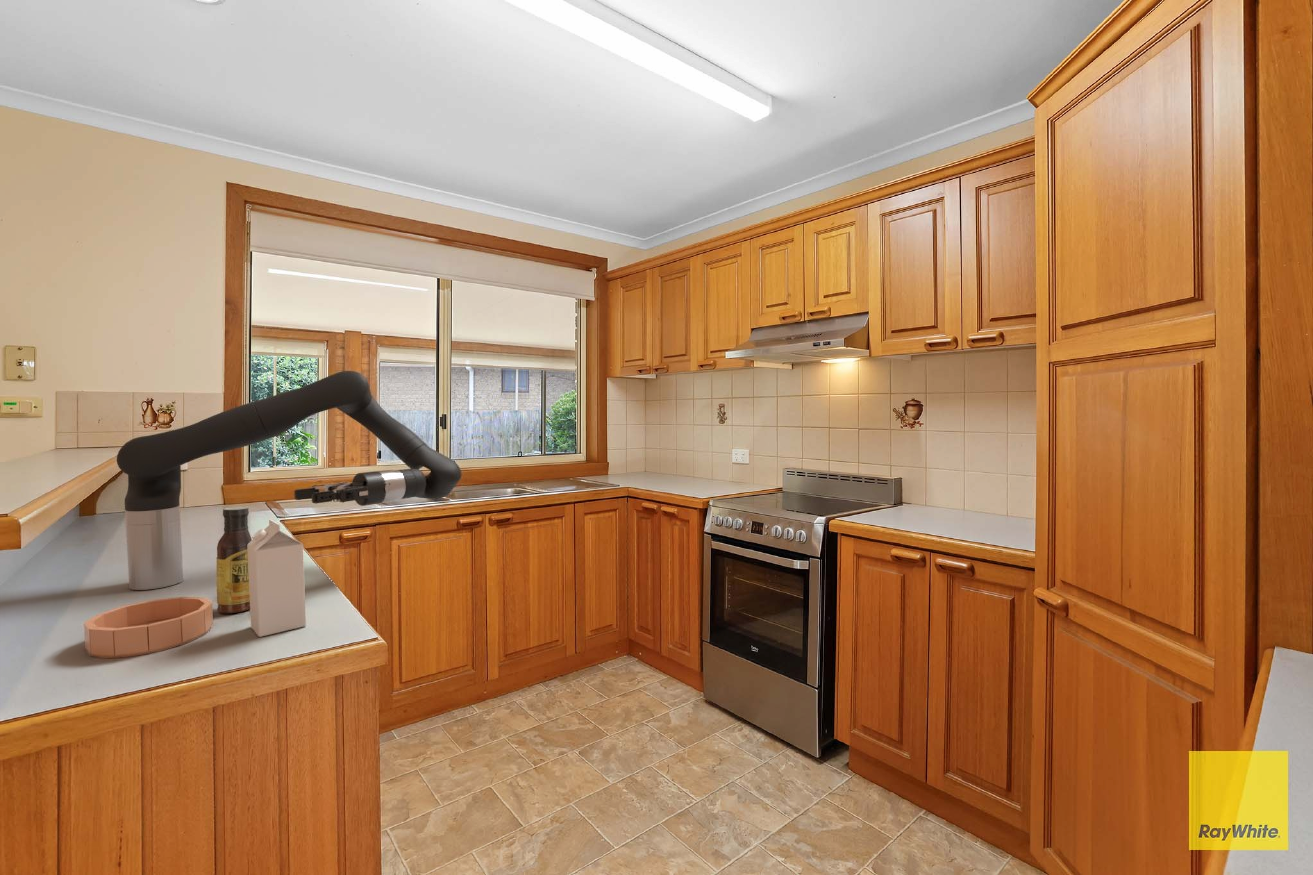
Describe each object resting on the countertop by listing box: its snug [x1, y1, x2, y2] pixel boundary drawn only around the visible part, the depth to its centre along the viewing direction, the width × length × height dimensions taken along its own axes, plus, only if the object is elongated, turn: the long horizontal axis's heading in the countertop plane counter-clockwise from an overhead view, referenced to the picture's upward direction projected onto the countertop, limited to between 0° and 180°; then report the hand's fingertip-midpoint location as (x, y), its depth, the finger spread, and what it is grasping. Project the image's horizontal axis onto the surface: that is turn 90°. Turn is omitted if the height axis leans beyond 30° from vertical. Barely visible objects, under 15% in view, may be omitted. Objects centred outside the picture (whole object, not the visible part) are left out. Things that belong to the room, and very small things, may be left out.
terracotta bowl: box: [83, 596, 214, 659], centre depth 100 cm, size 16×16×4 cm
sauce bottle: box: [216, 506, 253, 615], centre depth 114 cm, size 7×6×20 cm
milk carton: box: [247, 518, 307, 638], centre depth 104 cm, size 7×7×19 cm
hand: (303, 496), depth 123 cm, fingers open, 8 cm apart
